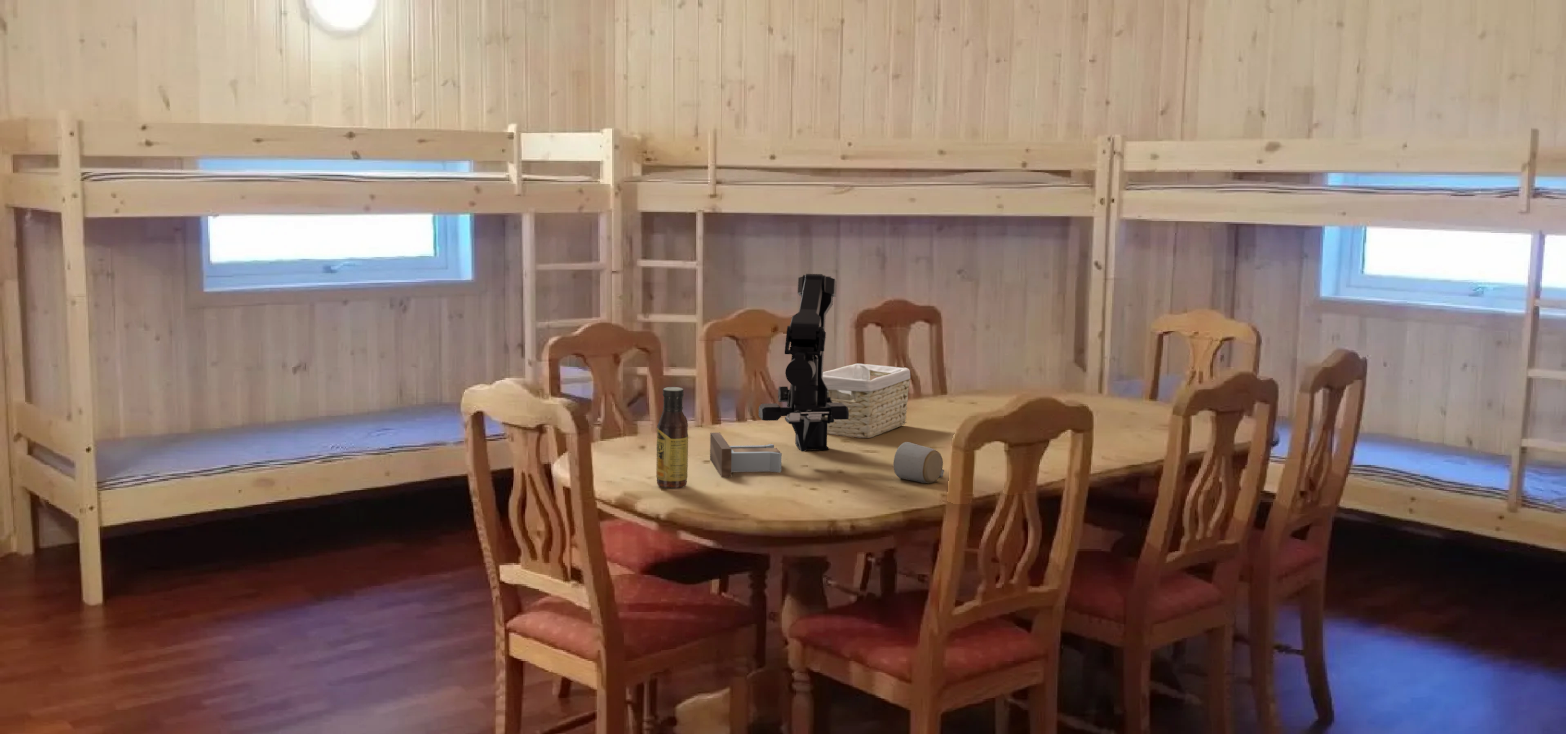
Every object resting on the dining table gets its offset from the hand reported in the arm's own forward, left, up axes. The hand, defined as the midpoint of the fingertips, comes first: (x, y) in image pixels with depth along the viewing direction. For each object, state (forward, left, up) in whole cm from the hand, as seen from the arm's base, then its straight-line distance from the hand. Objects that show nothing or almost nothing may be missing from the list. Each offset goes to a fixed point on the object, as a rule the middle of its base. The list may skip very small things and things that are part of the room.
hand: (802, 451), depth 311 cm
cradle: (+11, +1, -3) cm, 12 cm away
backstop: (+18, +1, -3) cm, 18 cm away
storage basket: (-23, -41, -4) cm, 47 cm away
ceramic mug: (-22, +16, -4) cm, 27 cm away
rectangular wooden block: (+11, +1, -4) cm, 11 cm away
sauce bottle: (+30, +17, -3) cm, 35 cm away
